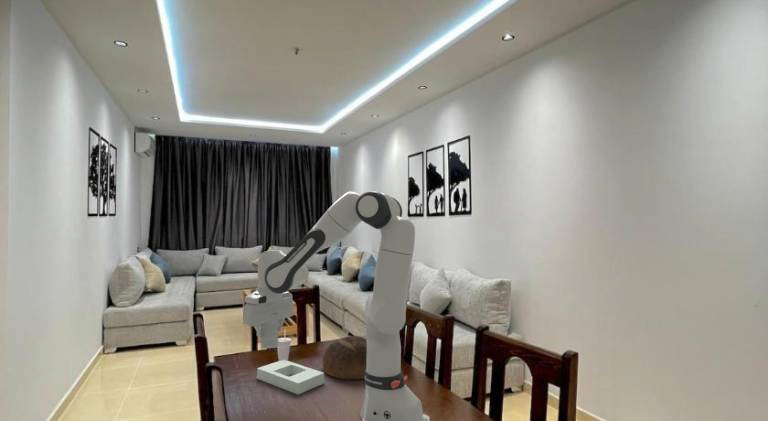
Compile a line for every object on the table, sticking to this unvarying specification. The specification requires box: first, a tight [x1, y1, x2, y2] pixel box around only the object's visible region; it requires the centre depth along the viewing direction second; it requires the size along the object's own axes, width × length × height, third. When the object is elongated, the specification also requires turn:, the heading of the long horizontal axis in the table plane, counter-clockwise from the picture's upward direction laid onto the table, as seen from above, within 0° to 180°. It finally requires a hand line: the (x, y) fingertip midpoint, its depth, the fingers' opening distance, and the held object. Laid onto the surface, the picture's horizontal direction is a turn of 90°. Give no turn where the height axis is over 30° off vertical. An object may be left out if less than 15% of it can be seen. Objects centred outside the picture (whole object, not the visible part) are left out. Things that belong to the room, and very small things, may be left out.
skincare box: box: [260, 313, 279, 350], centre depth 157 cm, size 6×4×12 cm
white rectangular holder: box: [256, 359, 325, 395], centre depth 167 cm, size 23×13×4 cm, turn 53°
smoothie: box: [276, 329, 292, 361], centre depth 188 cm, size 6×6×14 cm
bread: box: [322, 335, 367, 381], centre depth 181 cm, size 26×27×13 cm
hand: (269, 333), depth 157 cm, fingers closed on skincare box, 7 cm apart
